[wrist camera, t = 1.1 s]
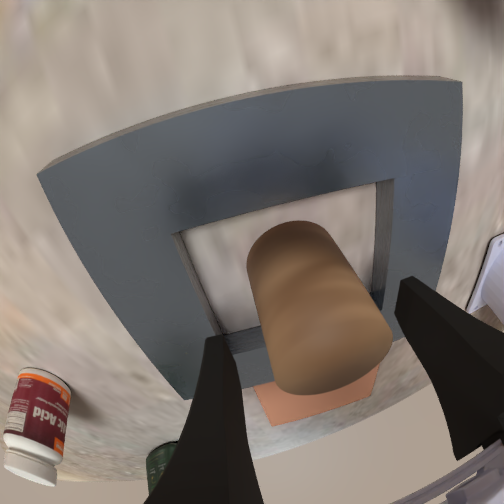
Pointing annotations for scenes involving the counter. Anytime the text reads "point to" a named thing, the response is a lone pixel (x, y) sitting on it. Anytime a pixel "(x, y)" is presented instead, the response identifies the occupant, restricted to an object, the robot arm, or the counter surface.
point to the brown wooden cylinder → (313, 310)
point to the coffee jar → (158, 463)
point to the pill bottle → (36, 426)
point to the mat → (310, 399)
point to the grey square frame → (256, 198)
